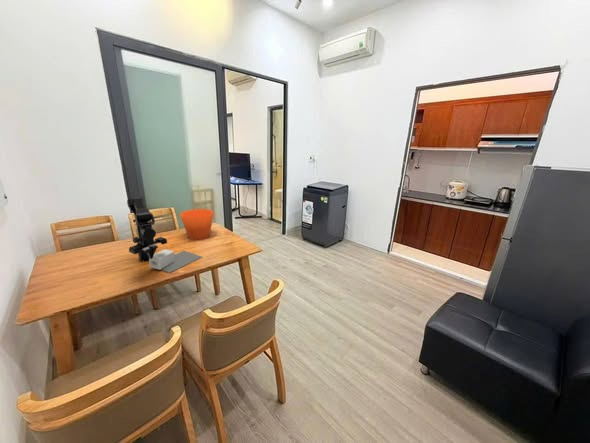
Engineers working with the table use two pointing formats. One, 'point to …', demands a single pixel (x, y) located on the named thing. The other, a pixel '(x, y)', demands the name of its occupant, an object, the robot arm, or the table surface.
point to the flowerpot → (197, 223)
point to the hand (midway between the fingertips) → (151, 258)
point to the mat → (181, 261)
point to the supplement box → (162, 259)
